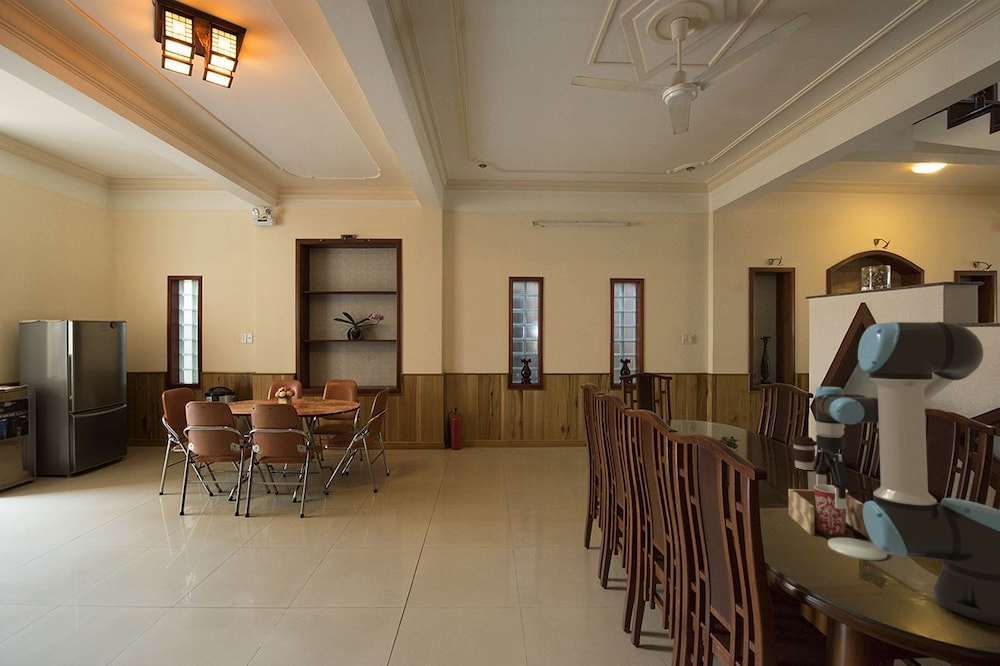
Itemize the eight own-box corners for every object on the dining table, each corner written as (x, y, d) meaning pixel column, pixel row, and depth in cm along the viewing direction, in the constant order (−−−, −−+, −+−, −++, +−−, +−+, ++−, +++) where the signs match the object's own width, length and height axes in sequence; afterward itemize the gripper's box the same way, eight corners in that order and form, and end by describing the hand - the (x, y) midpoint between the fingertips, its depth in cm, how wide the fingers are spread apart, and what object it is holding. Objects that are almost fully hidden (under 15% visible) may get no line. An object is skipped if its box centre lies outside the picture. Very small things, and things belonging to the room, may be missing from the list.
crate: (872, 539, 151) (871, 509, 152) (810, 535, 155) (810, 506, 155) (843, 518, 170) (843, 491, 170) (788, 514, 173) (788, 488, 173)
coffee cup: (796, 465, 241) (796, 434, 241) (820, 469, 233) (819, 437, 233) (788, 469, 234) (788, 437, 235) (812, 473, 227) (811, 440, 227)
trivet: (898, 562, 136) (898, 559, 136) (841, 558, 138) (841, 555, 138) (871, 542, 149) (871, 539, 149) (819, 538, 152) (819, 536, 152)
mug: (848, 539, 152) (847, 494, 152) (813, 532, 157) (812, 489, 157) (849, 526, 162) (848, 484, 162) (816, 520, 167) (815, 480, 167)
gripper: (863, 443, 147) (864, 515, 147) (825, 428, 171) (826, 489, 171) (834, 443, 149) (835, 514, 148) (801, 427, 173) (802, 488, 173)
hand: (830, 501), depth 160 cm, fingers open, 13 cm apart
